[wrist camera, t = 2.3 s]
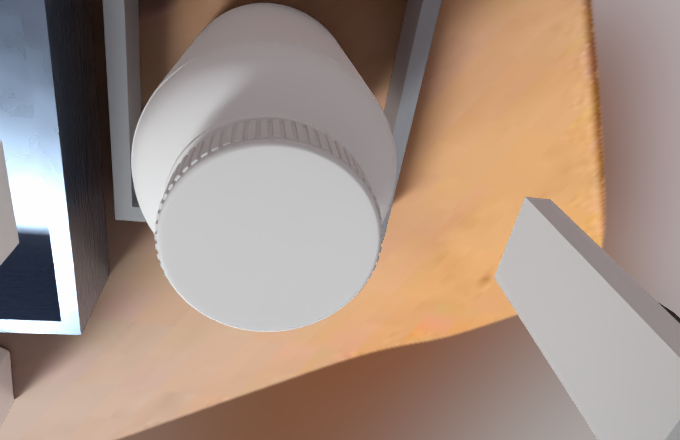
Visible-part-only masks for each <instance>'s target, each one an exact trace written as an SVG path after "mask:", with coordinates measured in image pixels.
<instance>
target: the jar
mask: <svg viewBox="0 0 680 440" xmlns="http://www.w3.org/2000/svg"><path fill="white" fill-rule="evenodd" d="M13 403H14V395H13V384H12V372H11V361H10V353H9V351H8V350H6V349H4V348H2V347H0V427H1V425H2V423H3V422H4V420H5V418H6V416H7V414H8V412H9V411H10V409H11V407H12V405H13Z"/></svg>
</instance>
